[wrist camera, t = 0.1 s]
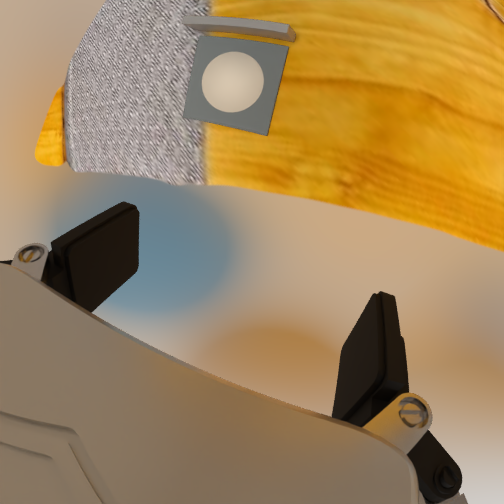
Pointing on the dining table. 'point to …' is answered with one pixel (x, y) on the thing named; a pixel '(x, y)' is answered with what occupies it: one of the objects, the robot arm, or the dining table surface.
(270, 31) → the low wall
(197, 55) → the mat
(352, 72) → the dining table surface
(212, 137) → the dining table surface
